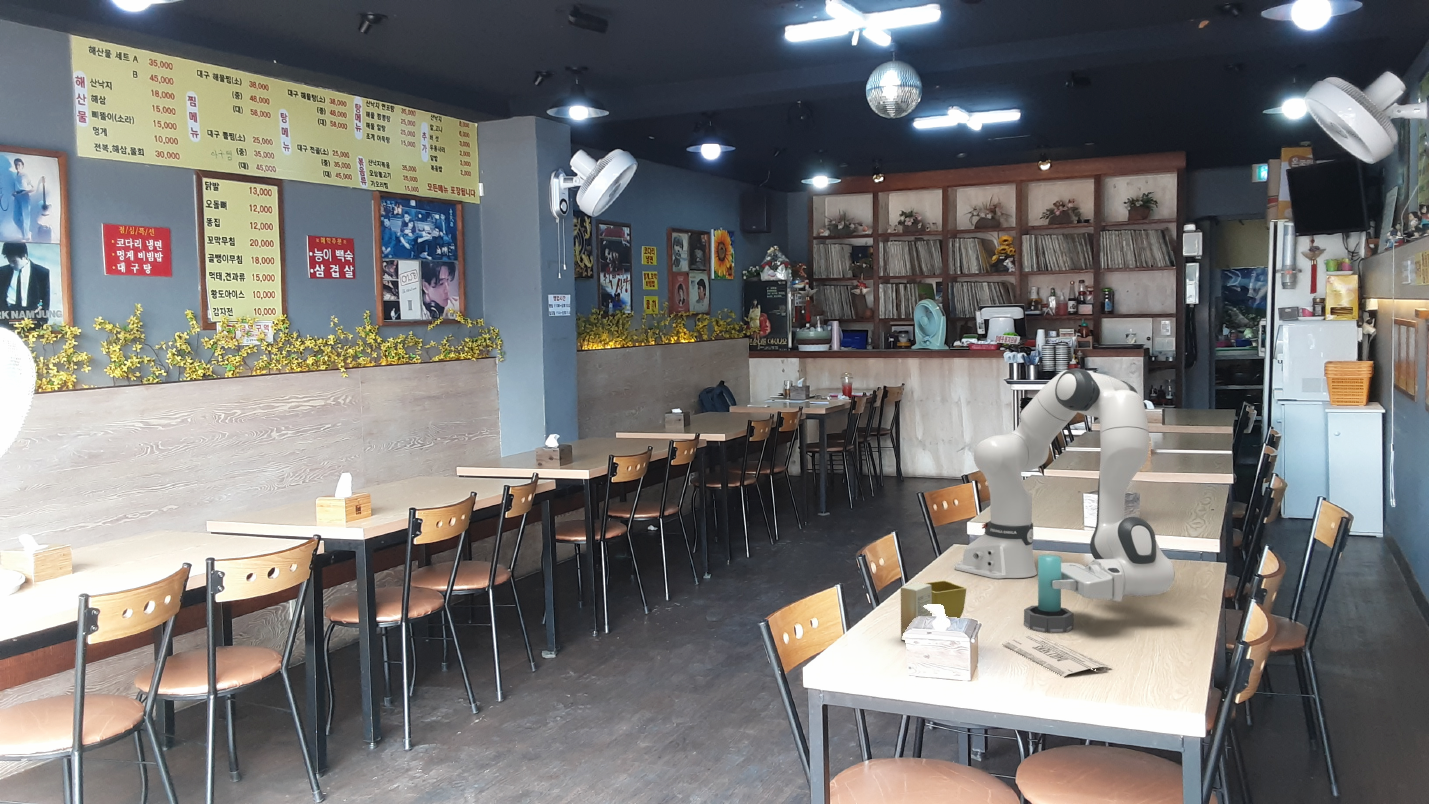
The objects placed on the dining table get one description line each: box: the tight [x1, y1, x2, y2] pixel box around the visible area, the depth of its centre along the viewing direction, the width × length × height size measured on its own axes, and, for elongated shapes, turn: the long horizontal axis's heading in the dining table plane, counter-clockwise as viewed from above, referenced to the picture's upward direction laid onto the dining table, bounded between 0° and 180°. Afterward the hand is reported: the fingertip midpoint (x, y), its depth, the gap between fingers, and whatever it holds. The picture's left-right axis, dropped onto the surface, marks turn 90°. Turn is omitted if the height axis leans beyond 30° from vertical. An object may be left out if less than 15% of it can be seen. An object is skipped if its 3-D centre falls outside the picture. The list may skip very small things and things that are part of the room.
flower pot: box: [923, 580, 967, 619], centre depth 242 cm, size 9×9×9 cm
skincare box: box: [900, 581, 932, 639], centre depth 230 cm, size 6×4×12 cm
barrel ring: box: [1023, 605, 1074, 634], centre depth 239 cm, size 10×10×4 cm
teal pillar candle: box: [1037, 554, 1062, 612], centre depth 239 cm, size 5×5×12 cm
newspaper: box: [1001, 634, 1114, 678], centre depth 218 cm, size 23×12×2 cm, turn 17°
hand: (1045, 580), depth 239 cm, fingers closed on teal pillar candle, 5 cm apart
